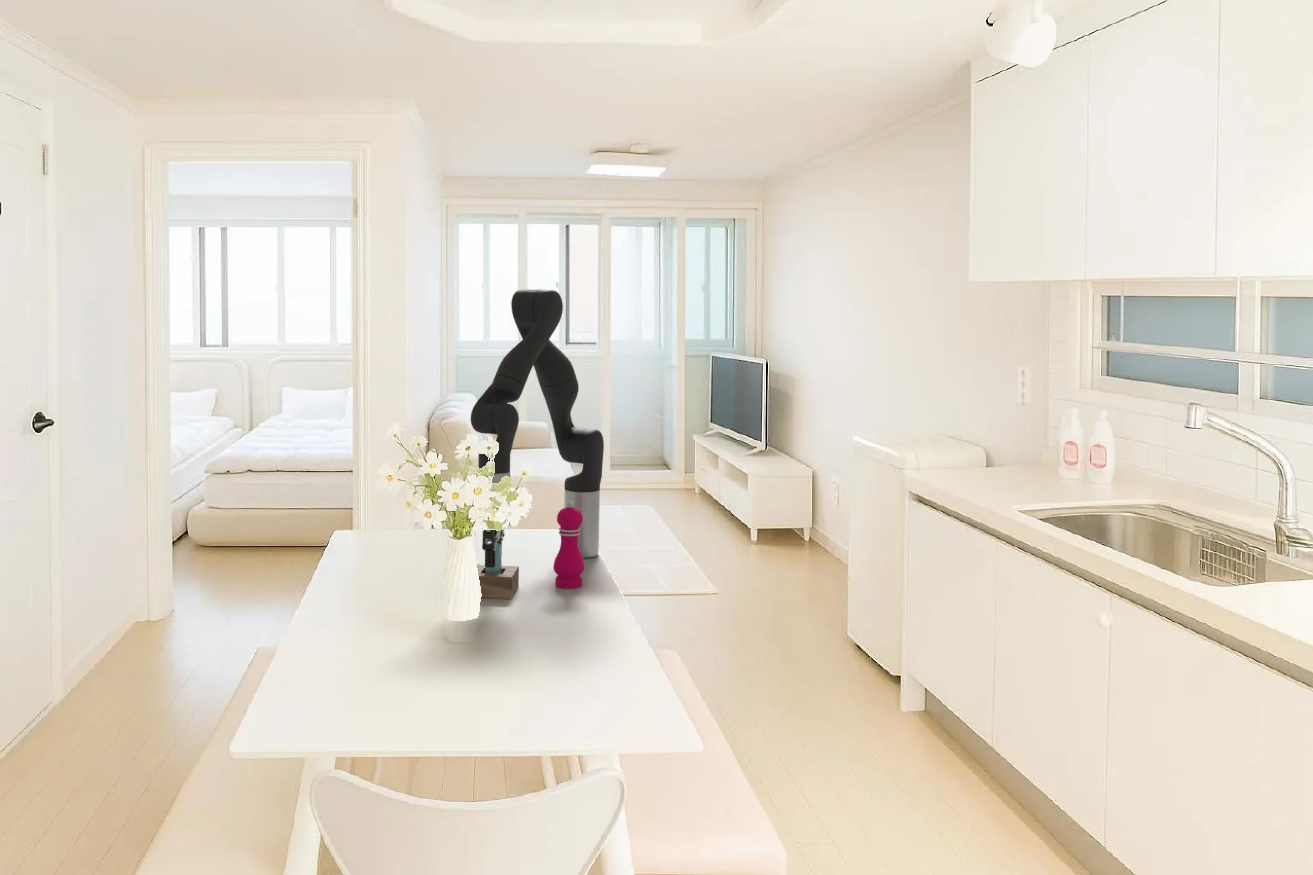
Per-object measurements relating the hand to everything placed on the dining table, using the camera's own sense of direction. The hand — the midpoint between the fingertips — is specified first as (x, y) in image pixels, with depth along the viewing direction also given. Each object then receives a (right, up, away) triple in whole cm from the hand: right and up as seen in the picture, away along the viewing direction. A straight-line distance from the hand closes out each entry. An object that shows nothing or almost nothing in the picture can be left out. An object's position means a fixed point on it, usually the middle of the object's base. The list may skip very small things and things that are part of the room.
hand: (493, 562), depth 247 cm
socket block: (0, -7, +1) cm, 7 cm away
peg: (0, -6, +1) cm, 6 cm away
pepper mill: (+16, -7, +9) cm, 20 cm away
